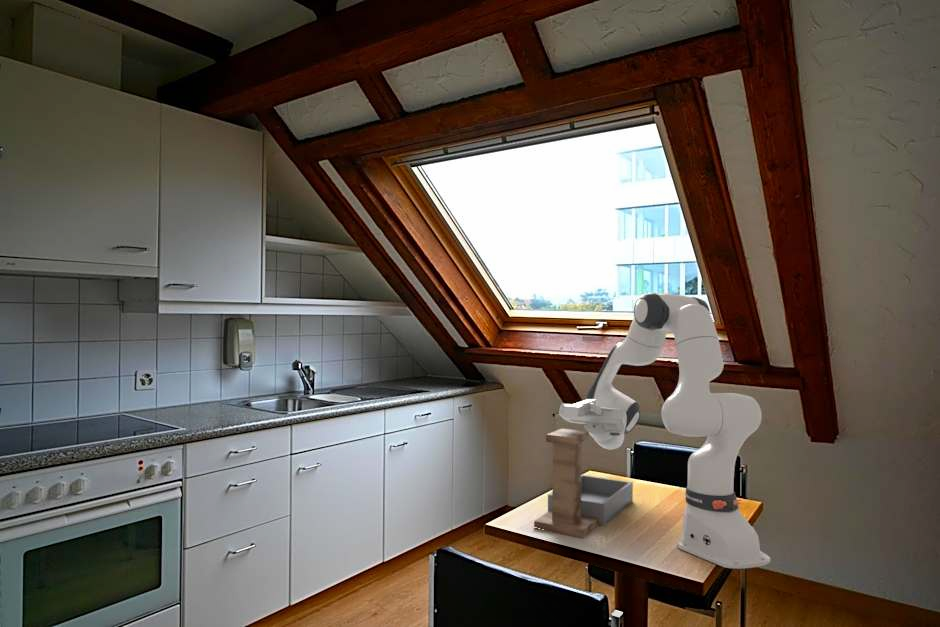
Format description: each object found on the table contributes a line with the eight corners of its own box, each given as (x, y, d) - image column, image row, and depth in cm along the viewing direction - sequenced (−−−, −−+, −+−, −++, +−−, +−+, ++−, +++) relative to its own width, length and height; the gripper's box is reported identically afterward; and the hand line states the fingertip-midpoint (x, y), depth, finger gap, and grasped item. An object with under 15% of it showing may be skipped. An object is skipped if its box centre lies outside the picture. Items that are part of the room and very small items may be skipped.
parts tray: (581, 492, 209) (581, 474, 208) (632, 501, 200) (632, 482, 200) (547, 515, 185) (548, 494, 185) (603, 525, 177) (604, 504, 177)
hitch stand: (551, 516, 184) (552, 427, 184) (598, 525, 177) (599, 432, 177) (534, 528, 174) (535, 433, 174) (582, 538, 167) (583, 439, 167)
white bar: (584, 408, 193) (584, 398, 193) (598, 409, 191) (598, 399, 191) (563, 416, 178) (563, 405, 178) (578, 418, 176) (578, 407, 176)
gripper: (569, 409, 204) (554, 392, 193) (632, 416, 193) (620, 398, 183) (565, 428, 201) (550, 411, 191) (628, 435, 191) (616, 418, 180)
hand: (585, 405), depth 187 cm, fingers closed on white bar, 2 cm apart
